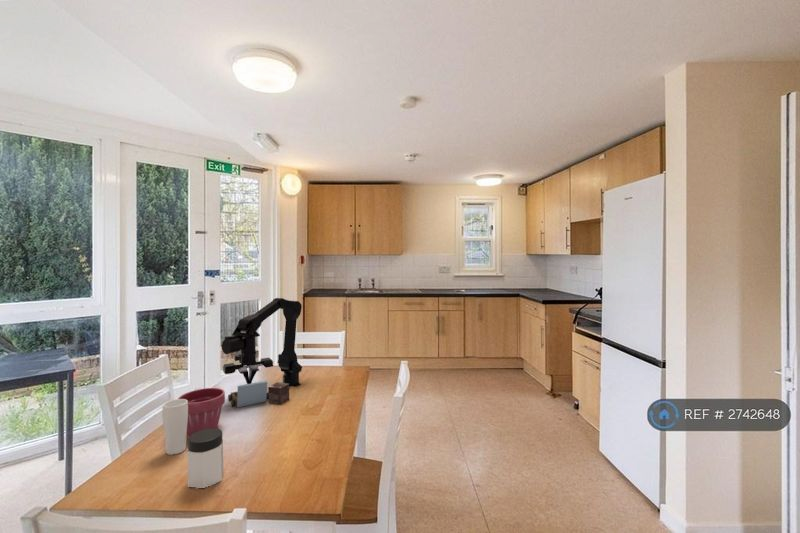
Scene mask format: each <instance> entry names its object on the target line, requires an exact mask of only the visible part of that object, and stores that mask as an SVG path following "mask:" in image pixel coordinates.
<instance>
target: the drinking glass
mask: <svg viewBox="0 0 800 533" xmlns="http://www.w3.org/2000/svg"><path fill="white" fill-rule="evenodd" d="M161 412H162V415H161V416H162V425H163V433H164V442H165V443H164V444H165V453H166V454H167V455H170V456H172V455H173V454H175V455H178V453H179V454H180V453H183V452H184V451H185V450H186V449H187V437H188V435H187V424H188V400H186V399H178V398H176V399H172V400H169V401H166V402H164V403H163V404H162V411H161ZM173 456H174V455H173Z"/></svg>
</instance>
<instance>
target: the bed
mask: <svg viewBox="0 0 800 533" xmlns="http://www.w3.org/2000/svg"><path fill="white" fill-rule="evenodd" d="M237 393H238V390H237V391H233V392H230V394H228V396H227V400H228V402H230V406H231V407H232V408H233V410H234V409H237ZM266 402H269V395H268V392H267V398H266Z"/></svg>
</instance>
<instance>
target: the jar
mask: <svg viewBox="0 0 800 533" xmlns="http://www.w3.org/2000/svg"><path fill="white" fill-rule="evenodd" d="M187 449H188V450H187V453H186V457H187V458H186V459H187V488H189V487H196V488H195V489H198V488H205V487H207V488H209V487H211V486H213V485H216V484H218V483H220V482H222V479H223V475H224V439H223V431H222V430H221V429H219V428H217V429H205V430H201V431H198V432H196V433H194V434H192V435H191V436H190V437H189V436H188V439H187ZM208 486H209V487H208ZM205 489H206V488H205Z"/></svg>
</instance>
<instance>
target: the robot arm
mask: <svg viewBox="0 0 800 533" xmlns="http://www.w3.org/2000/svg"><path fill="white" fill-rule="evenodd" d="M302 306H303V305H302V303H301V302H300V301H298V300H290V299H289V300H288V299H285V298H283V297H275V298H273V300H271V301H270V302H269V303H268V304H266V305H265V306H263V307H262V308H260V309H259V310H257V311H256V312H255V313H253V314H252V313H251V314H249V315H247V316H244V317H242V318H240V319H239V321H238V322H237V325H236V327H235V329H234V331H233V332H232V334H231V335H225V337H224V340H223V341H222V343H221V344H220V345H221V350H222V353H224V354H225V355H230V354H233V353H234V354H233V356H234V357H233V359H234V362H238V363H239V364H235V363H234V362H230V363H224V364H223V365H222V372H223V373H224V375H229V374H235V372H236V371H237V370H238V372H239V374H241V375H243V377H244V379H245V383H246V384H251V383H253V380H254V378H255V376H256V374H257V372H259V371H260V368H259V367H262V366H264V368H273V367H274V361H273V360H272V359H271V357H264V358H260V360H259V361H257V350H256V349H257V348H256V346H257V345H256V342H257V341H256V338H257V337H260V333H258V332H257V331H258V330H259V329H260V327H261V326H262V323H264V321H265V320H267V319H268V318H269V317H270V316H272V315H273V314H275V313H276V312H277V311H279V310H280V309H281V310H282V314H283V316H284V319H285V325H284V326H285V327H284V339H283V350H282V352H281V353H278V355H277V358H278V359H277V364H278V367H279V369H280V371H281V372H283V375H282V383H288V384H289V387H292V386H293V387H297V386H300V385H301V383H300V373H301V372H302V369H303V366H302V365H301V364H300V363H299V362H298V355H297V353H296V350H295V349H296V347H295V346H296V344H295V343H296V334H297V321H298V319H299V317H300V316H301V312H302V308H303V307H302Z"/></svg>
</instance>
